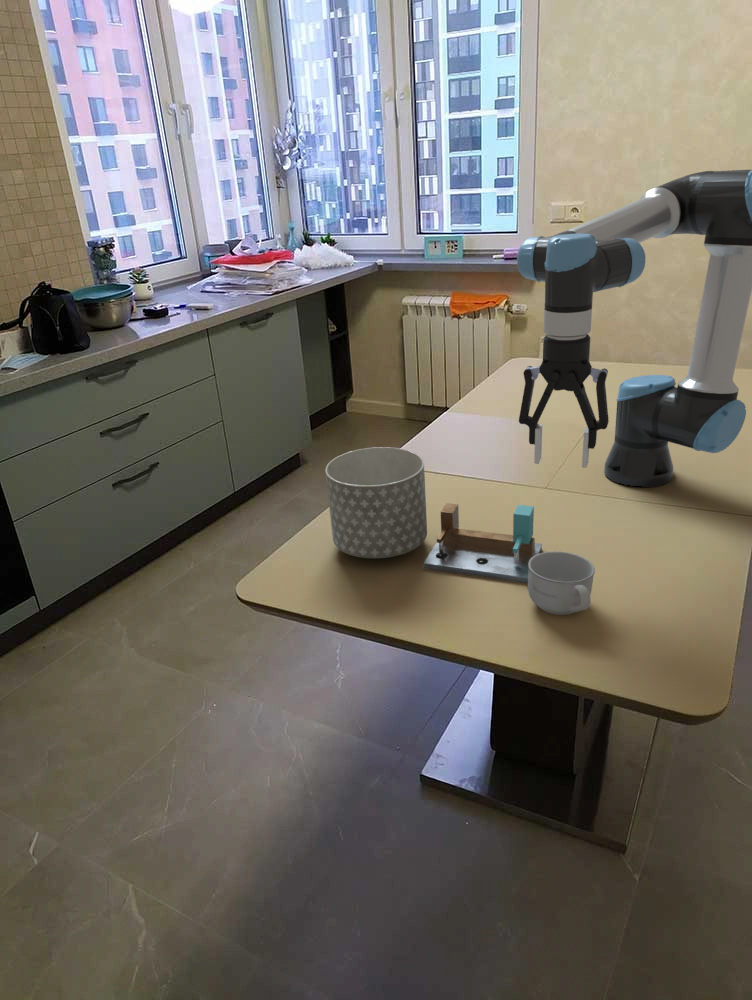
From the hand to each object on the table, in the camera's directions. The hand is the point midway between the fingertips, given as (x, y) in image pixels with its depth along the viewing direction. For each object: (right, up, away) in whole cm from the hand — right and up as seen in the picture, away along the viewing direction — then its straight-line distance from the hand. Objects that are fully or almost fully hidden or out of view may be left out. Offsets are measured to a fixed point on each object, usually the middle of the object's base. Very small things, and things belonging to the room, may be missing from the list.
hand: (561, 462), depth 128 cm
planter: (-32, -17, +18) cm, 40 cm away
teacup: (-1, -26, -6) cm, 26 cm away
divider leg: (-6, -17, +8) cm, 20 cm away
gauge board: (-12, -18, +11) cm, 24 cm away
